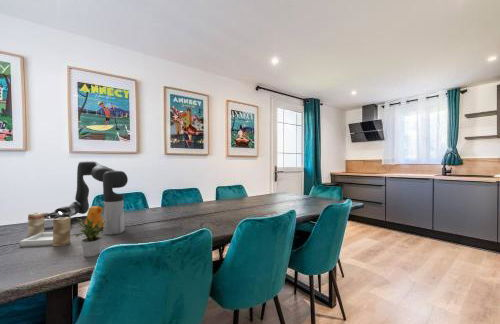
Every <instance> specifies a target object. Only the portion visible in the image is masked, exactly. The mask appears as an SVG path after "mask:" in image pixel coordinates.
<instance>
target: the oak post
mask: <svg viewBox="0 0 500 324" xmlns="http://www.w3.org/2000/svg"><path fill="white" fill-rule="evenodd" d="M52 220H53V221H52V224H53V225H52V227H53V228H52V232H53V245H52V247H65V246H66V245H68V244H70V243H71V223H70V222H71V217H59V218H57V219H52Z"/></svg>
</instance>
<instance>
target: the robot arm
mask: <svg viewBox="0 0 500 324" xmlns="http://www.w3.org/2000/svg"><path fill="white" fill-rule="evenodd" d="M76 170H77V172H76V173H77V174H76V192H75V196H74V198H75V201H73V202H72V203H71V204H70V205H64V206H61V207H59V208H56V209H55V210H54V211H52V212H43V213H44V214H45V217H44V220H54V219H57V218H59V217H70V218H71V217H73V216H76V215H77V214H81V215H84V214H87V213H88V211H89V208H90V204H89V193H90V188H89V186H88V185H87V183H86V181H85V180H84V176H91V177H92V178H93V179H94V180H96V181H97V182H98V181H99V182H102V192H103V194H102V196H103V220H104V221H105V220H106V219H107V220H106V221H105V222H104V227H103V228H107V229H103V228H102V229H103V230H102V233H103V235H106V236H107V235H109V236H111V235H118V234H122V233H123V232H125V227H126V226H125V223H126V222H125V218H126V217H125V215H126V214H125V213H124V195H123V194H121V193H117V192H115V191H114V190H113V189H119V188H124V187H125V186H126V185H127V184H128V182H129V181H128V180H129V179H128V175H127V173H126V172H124V171H122V170H115V169H113V168H111V167H110V168H109V167H108V166H105V165H102V164H100V163H98V161H92V160H91V161H88V160H87V161H80V162H78V164H77V169H76ZM108 218H109V219H108ZM105 230H106V231H105ZM103 231H104V232H103Z"/></svg>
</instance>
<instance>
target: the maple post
mask: <svg viewBox="0 0 500 324" xmlns="http://www.w3.org/2000/svg"><path fill="white" fill-rule="evenodd" d="M44 213H45V212H33V213H30V214H28V215H27V220H28V221H27V223H28V224H27V237H31V236H34V235H36V234H39V233H43V232H45V219H44V217H45V214H44Z"/></svg>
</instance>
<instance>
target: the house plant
mask: <svg viewBox="0 0 500 324" xmlns="http://www.w3.org/2000/svg"><path fill="white" fill-rule="evenodd" d="M94 217H95V216H94ZM86 218H87V216H86ZM86 218H85V219H86ZM76 219H77V220H79V221H80V222H81V223H79V222H77V221H76V222H75V224H72V226H73V225H74V226H75V225H76V226H78V227H80V225H81V227H82V229H80V232H81V233H78V234H76V235H75V239H76V238H77V237H79V236H81V237H83V239H82V240H81V246H82V250H83V251H82V252H83V256H84V257H86V258H87V257H89V258H90V257H95V256H97V255H99V254H100V250H101V245H102V239H103V238H102V237H103V236H100V235H101V234H102V233H103V232H104V231H103V229H107V228H104V227H102V228H100V226H101V225H102V224H103V223H104V222H105V221H106V220H107V219H106V220H105V221H104V222H103V223H102V224H101V225H100V226H99V224H100V221H101V219H100V221H99V223H97V224H96V225H95V227H94V228H93V220H94V219H95V218H93V220H92V222H91V221H90V220H89V219H88V218H87V224H88V225H87V224H85V221H83V220H82V219H81V218H78V217H76ZM108 219H109V218H108ZM71 223H73V221H72V222H71V221H70V224H71ZM76 223H77V224H76ZM78 224H79V225H78ZM84 226H85V227H84ZM98 227H99V228H98ZM83 228H84V229H83ZM105 231H106V230H105ZM82 235H85V236H86V237H84V236H82Z"/></svg>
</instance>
